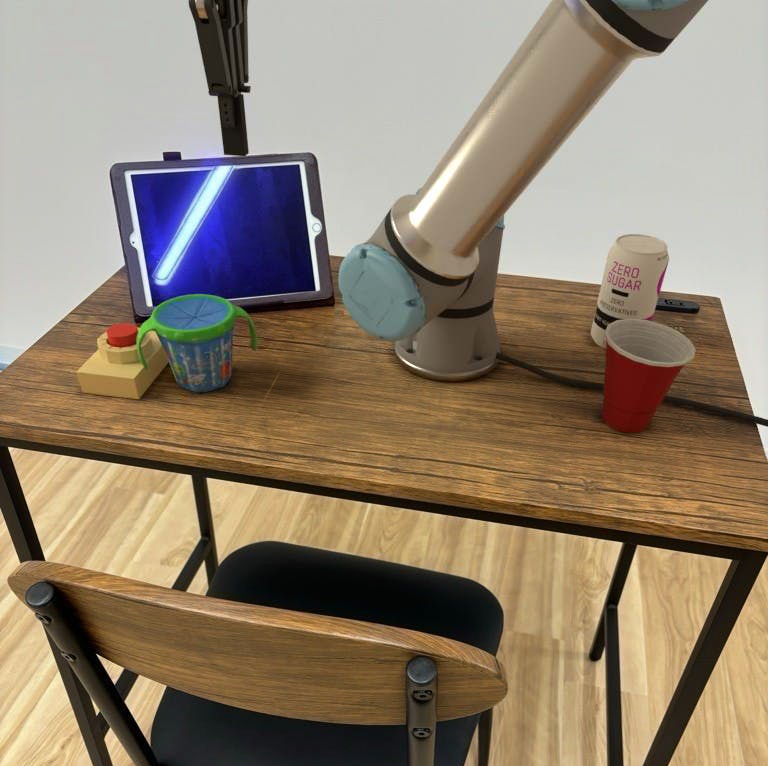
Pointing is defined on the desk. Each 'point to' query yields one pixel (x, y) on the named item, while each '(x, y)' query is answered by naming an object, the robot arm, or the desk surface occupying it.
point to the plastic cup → (640, 370)
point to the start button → (122, 335)
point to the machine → (122, 368)
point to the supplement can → (630, 282)
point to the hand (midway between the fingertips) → (236, 153)
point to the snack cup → (197, 339)
